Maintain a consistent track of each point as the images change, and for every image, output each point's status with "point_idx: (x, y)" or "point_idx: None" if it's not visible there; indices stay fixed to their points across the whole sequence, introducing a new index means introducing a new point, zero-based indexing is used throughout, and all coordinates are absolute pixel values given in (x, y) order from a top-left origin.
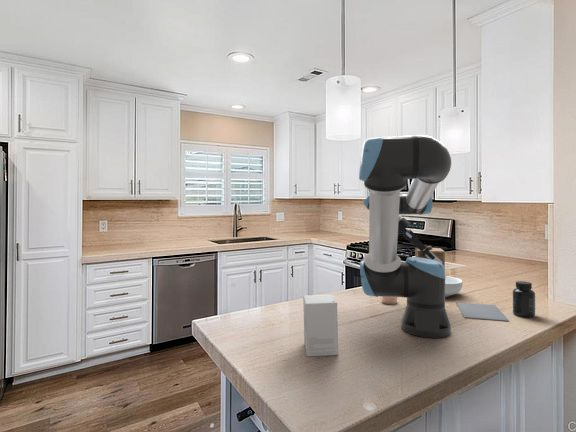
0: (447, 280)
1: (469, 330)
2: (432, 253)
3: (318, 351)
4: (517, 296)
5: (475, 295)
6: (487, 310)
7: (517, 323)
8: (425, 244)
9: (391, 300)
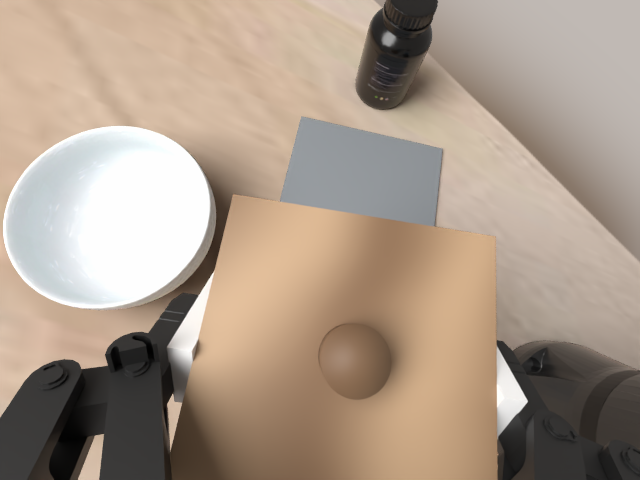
0: (62, 169)
1: (532, 283)
2: (501, 365)
3: None
4: (414, 64)
5: (174, 120)
6: (360, 162)
7: (451, 138)
8: (122, 352)
9: None
